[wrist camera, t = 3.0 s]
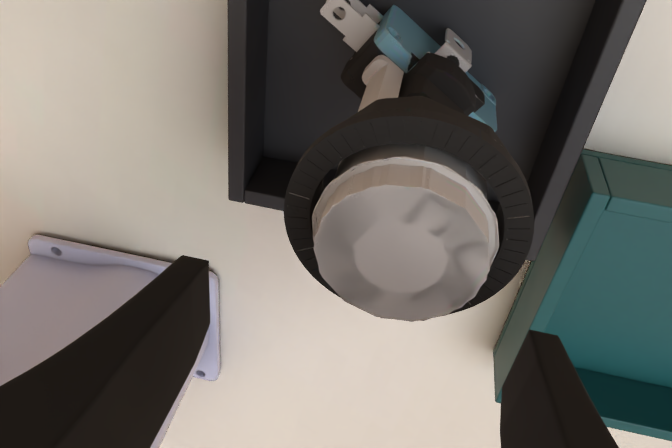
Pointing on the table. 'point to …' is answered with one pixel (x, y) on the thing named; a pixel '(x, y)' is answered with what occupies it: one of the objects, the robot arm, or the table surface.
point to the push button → (409, 178)
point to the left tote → (434, 18)
